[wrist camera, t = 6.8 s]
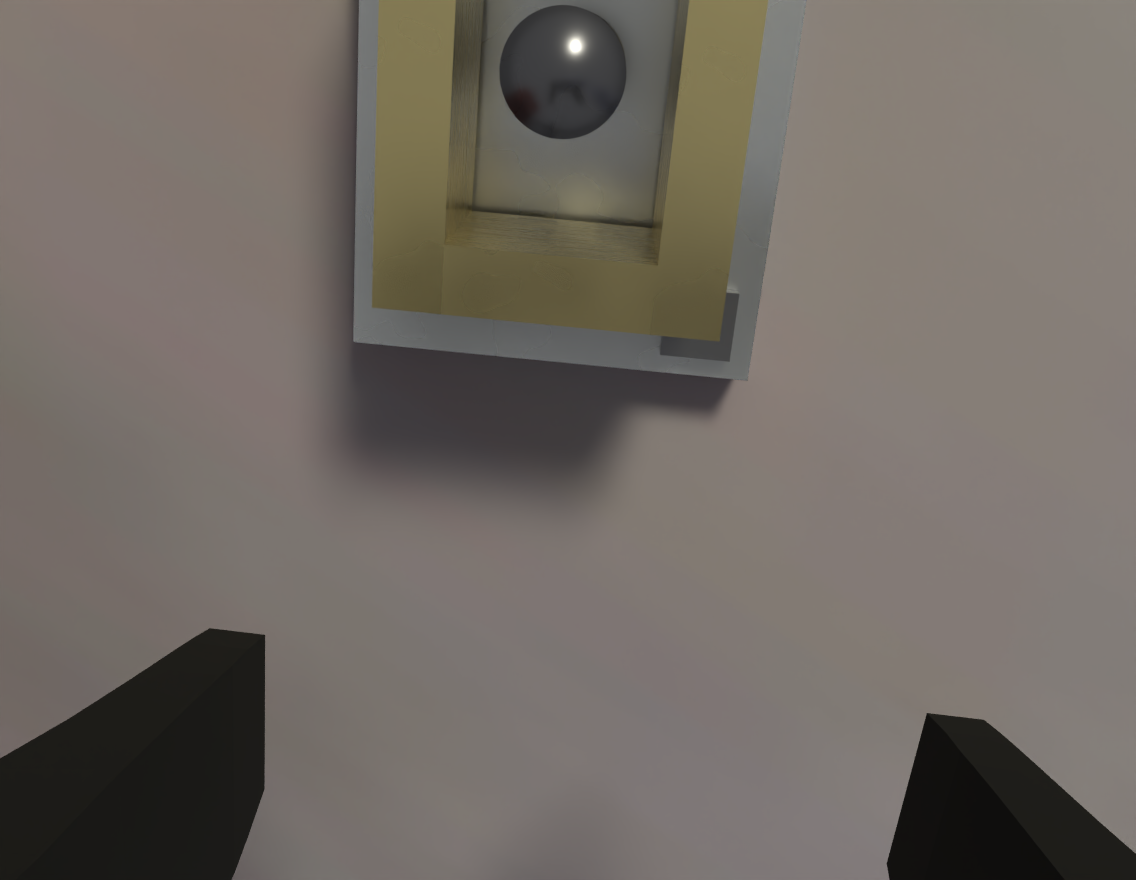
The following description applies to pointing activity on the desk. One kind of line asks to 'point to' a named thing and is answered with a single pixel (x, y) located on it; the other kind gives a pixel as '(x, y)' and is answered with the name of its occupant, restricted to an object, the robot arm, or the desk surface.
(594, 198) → the keeper plate
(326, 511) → the desk surface
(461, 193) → the link
